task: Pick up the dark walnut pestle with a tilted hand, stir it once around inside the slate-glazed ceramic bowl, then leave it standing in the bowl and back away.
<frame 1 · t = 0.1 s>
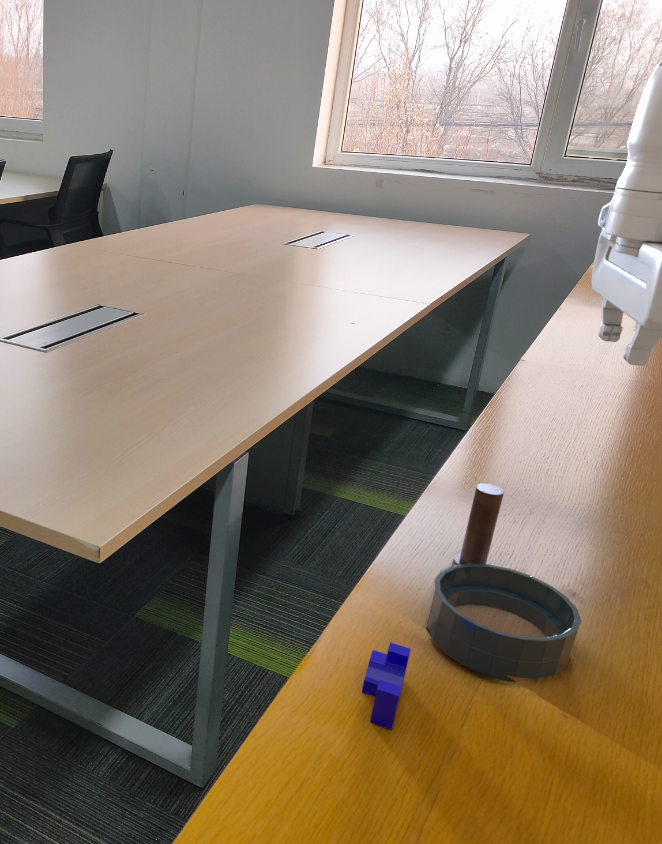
hand: (620, 351, 86), 31 cm above the table, tool pointing down, fingers open, 8 cm apart
pestle: (467, 582, 100), on the table
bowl: (493, 644, 88), on the table
blue stepped block: (379, 699, 80), on the table
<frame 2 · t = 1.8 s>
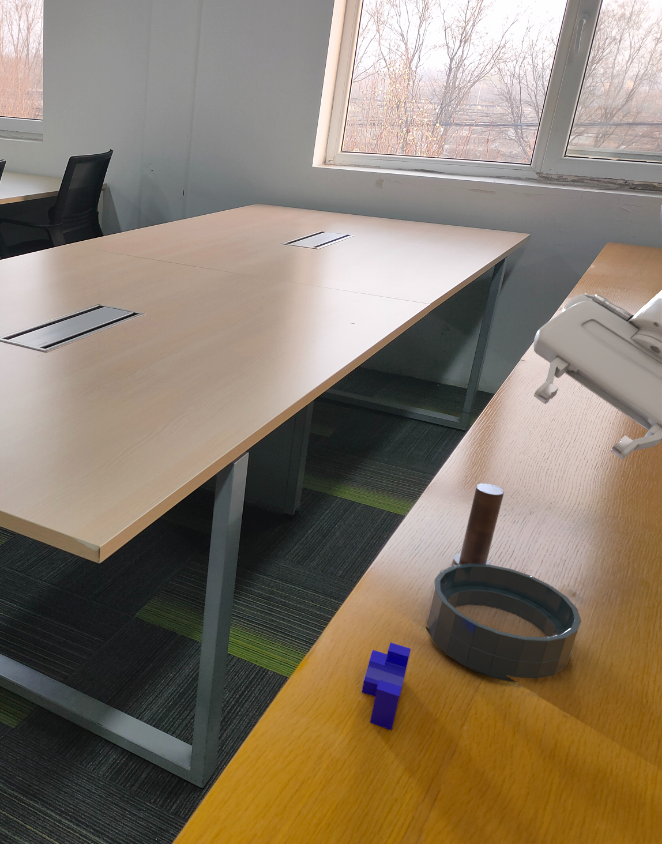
hand: (577, 425, 86), 23 cm above the table, tool tilted 50°, fingers open, 8 cm apart
nothing on the table moved.
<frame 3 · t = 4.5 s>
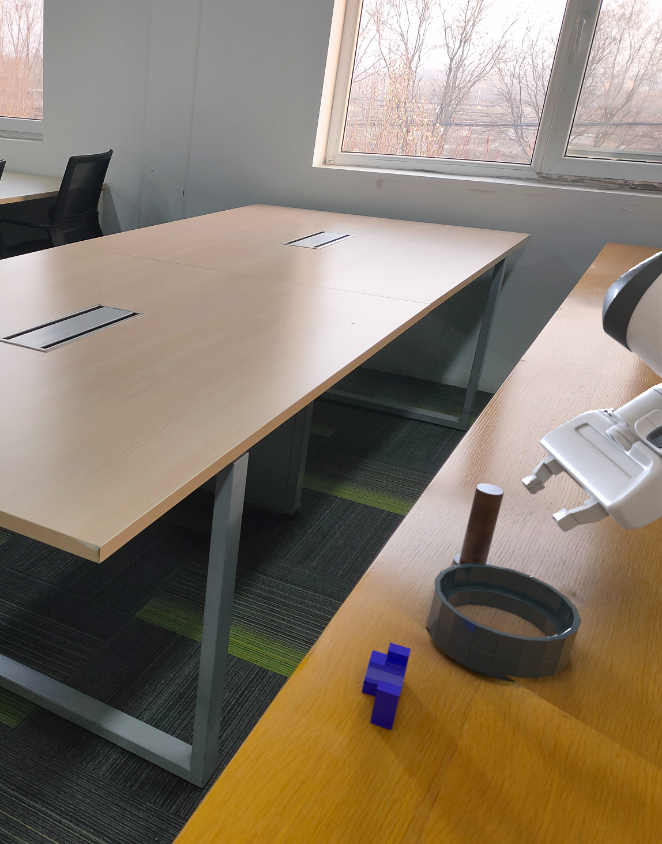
hand: (541, 505, 94), 12 cm above the table, tool tilted 45°, fingers open, 8 cm apart
nothing on the table moved.
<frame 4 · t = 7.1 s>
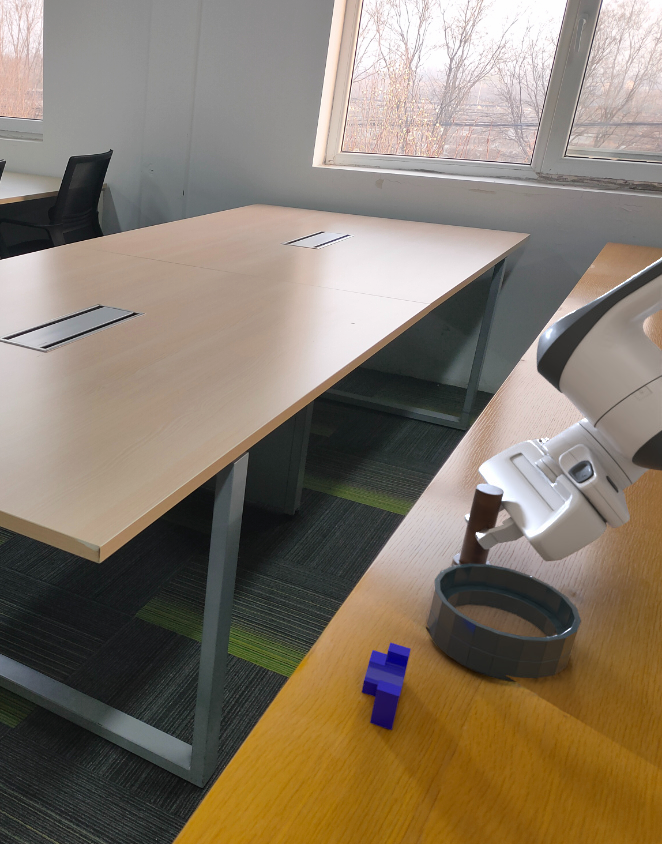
hand: (473, 533, 97), 7 cm above the table, tool tilted 45°, fingers closed on pestle, 3 cm apart
pestle: (467, 582, 100), on the table, touching gripper
everything else where it was.
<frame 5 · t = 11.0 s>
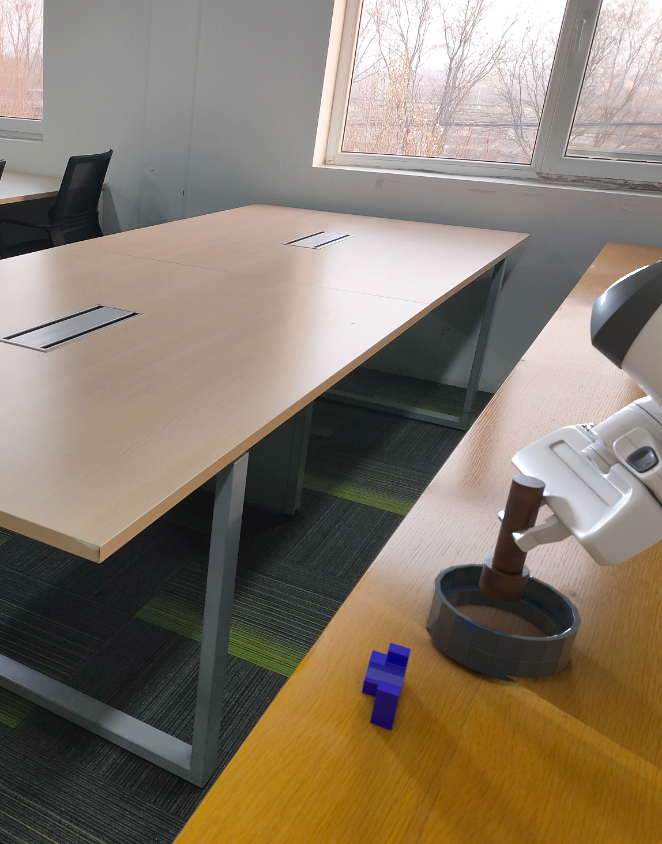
hand: (509, 533, 83), 14 cm above the table, tool tilted 45°, fingers closed on pestle, 3 cm apart
pestle: (500, 590, 86), point 7 cm above the table, touching gripper
everything else where it was.
when the fingers open (8 cm above the table, at t = 14.9 s): pestle stays where it is, resting on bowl.
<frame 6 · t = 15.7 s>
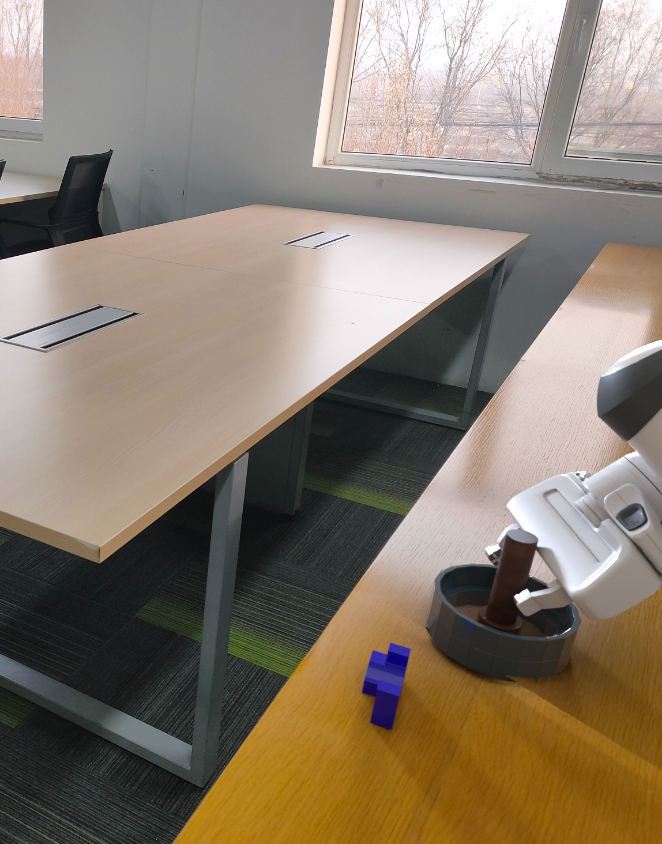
hand: (503, 582, 85), 8 cm above the table, tool tilted 45°, fingers open, 8 cm apart
pestle: (494, 639, 88), point 1 cm above the table, touching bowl
everything else where it was.
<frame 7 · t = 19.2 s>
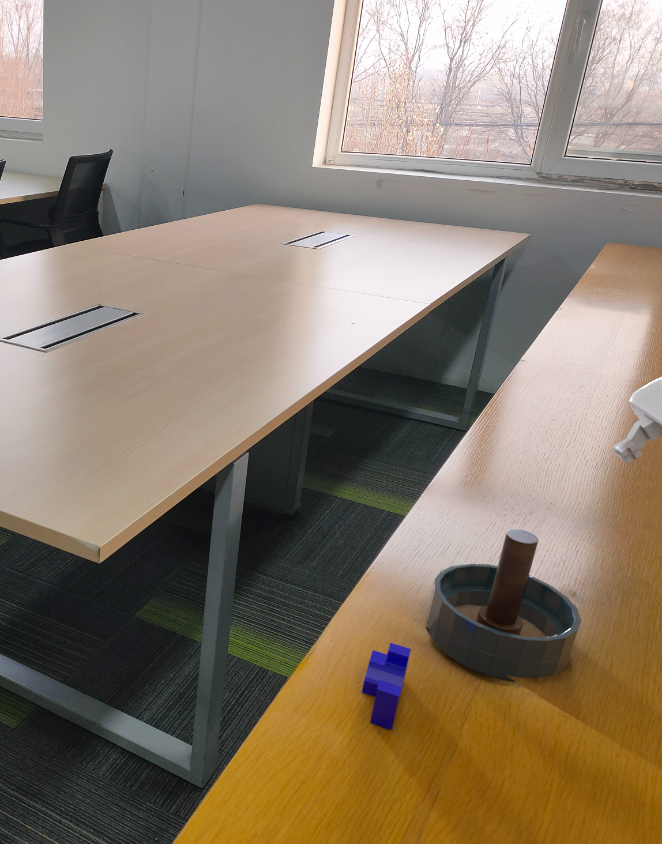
hand: (647, 478, 79), 21 cm above the table, tool tilted 45°, fingers open, 8 cm apart
nothing on the table moved.
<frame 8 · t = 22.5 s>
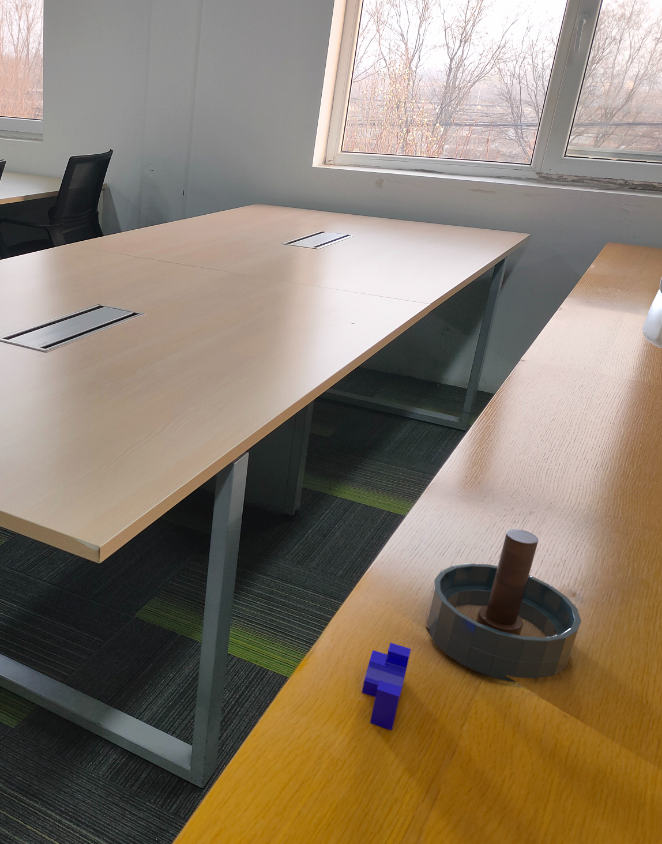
nothing on the table moved.
at the end: pestle inside the target area in the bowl (0.1 cm from its centre), point 0.8 cm above the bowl's base; pestle tilted 0°; the gripper is holding nothing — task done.
